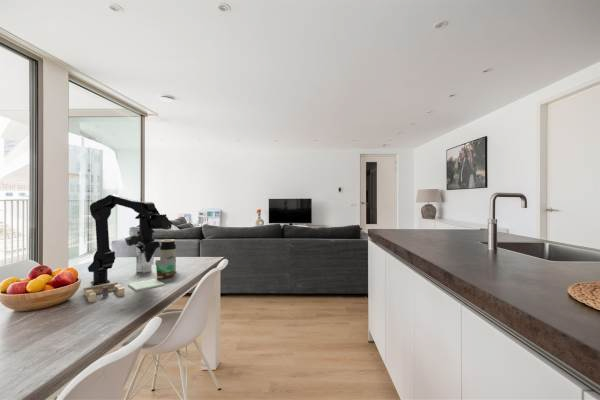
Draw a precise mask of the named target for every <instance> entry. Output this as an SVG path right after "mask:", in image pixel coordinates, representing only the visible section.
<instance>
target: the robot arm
mask: <svg viewBox="0 0 600 400" xmlns="http://www.w3.org/2000/svg"><path fill="white" fill-rule="evenodd" d="M116 205H118V206H122V207H125V208H127V209H132V210H133V211H134V212H136V213H137V214H138V215H136V216H135V218H134V219H136V220H138V221H139V222H138V223H139V229H138V230H137V233H136V234H133V235H131V236H128V237H125V238H124V240H125V244H126V245H127V246H129V247H131V246H133V245H134V246H135V247H137V248H139V249H140V252H141V251H145V255H146V261H147V262H150V260H151V258H152V256H153V254H155V252H156V250H157V249H158V248H160V246H161V243H160V242H159V241H158V240H155V238H154V234H155V230H156V229H159V230H160V229H161V230H166V229H167V228H169V226H170V220H169V218H168V217H167V214H166V213H165V214H160V212H159V210H158V209H157V207H156V205H155V203H154V202H152V201H139V200H135V199H132V198H128V197H125V196H120V195H118V194H108V195H107V196H105V197H103V198H101V199H98V200H96V201H94V202H92V203H91V204H90V205H89V212H90V215H91V217H92V218H93V219H94V221H95V237H96V252H95V253H94V255H93V261H92V262H91V263H90V264H89V266H88V267H87V270H88V273H92V275H93V276H92V277H93V278H92V281H90V283H91V284H92V285H93V286H97V285H102V284H108V283H111V282H110V280H109V279H108V270H109V269H112V268H113V265H114V263H115V260H116V259H117V258H116V252H115V251H113V250H111V248H110V237H109V235H110V234H109V222H108V220H109V218H110V216H111V214H112V209H114V208H115V207H116ZM154 229H155V230H154Z"/></svg>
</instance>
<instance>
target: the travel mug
mask: <svg viewBox="0 0 600 400" xmlns="http://www.w3.org/2000/svg"><path fill="white" fill-rule="evenodd" d="M160 242H161V243H160V247H159V248H160V249H159V253H160V254H159V259H160V260H163V259H168V258H170V256H174V257H175V258H176V259H177V247H176V246H177V245H176V239H172V238H171V239H167V238H166V239H162V240H160ZM176 263H177V261H176V262H175V264H174V273H175V272H176V271H177V270H176V269H177V265H176Z"/></svg>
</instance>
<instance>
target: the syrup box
mask: <svg viewBox="0 0 600 400" xmlns="http://www.w3.org/2000/svg"><path fill="white" fill-rule="evenodd" d="M135 247H136V246H135ZM135 250H136V253H135V254H136V255H135V256H136V257H135V261H136V264H135V265H136V267H135V268H136V269H135V270H136V272H137V273H142V274H146V273H149V272H152V271H153V269H152V265H146V266H141V265H139V252H140V249H139V248H137V247H136V248H135Z"/></svg>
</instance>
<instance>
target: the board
mask: <svg viewBox="0 0 600 400" xmlns="http://www.w3.org/2000/svg"><path fill="white" fill-rule="evenodd" d="M127 286H128V287H129V288H131V289H132V290H134V291H135V292H139V291H143V290H149V289H155V288H158V287H164V286H165V283H164V282H162V281H160V280H159V279H157V278H153V279H147V280H142V281H137V282H131V283H127Z"/></svg>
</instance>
